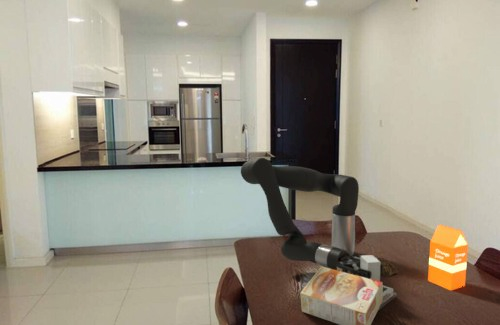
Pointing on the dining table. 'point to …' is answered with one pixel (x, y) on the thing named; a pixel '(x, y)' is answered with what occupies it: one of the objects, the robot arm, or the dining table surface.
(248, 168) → the robot arm
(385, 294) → the jig
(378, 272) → the skincare box
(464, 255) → the orange juice
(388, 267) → the bread roll
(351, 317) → the coffeecake box
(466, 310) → the dining table surface
